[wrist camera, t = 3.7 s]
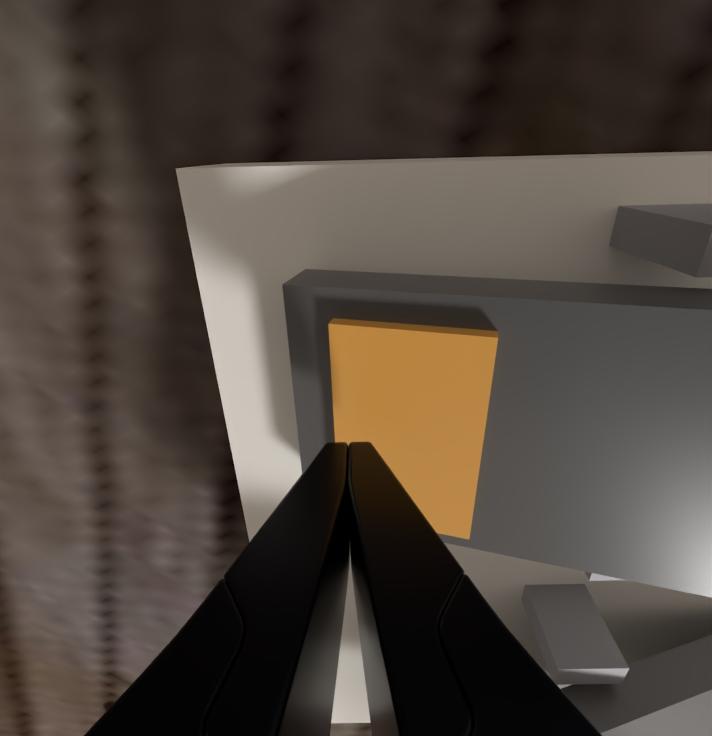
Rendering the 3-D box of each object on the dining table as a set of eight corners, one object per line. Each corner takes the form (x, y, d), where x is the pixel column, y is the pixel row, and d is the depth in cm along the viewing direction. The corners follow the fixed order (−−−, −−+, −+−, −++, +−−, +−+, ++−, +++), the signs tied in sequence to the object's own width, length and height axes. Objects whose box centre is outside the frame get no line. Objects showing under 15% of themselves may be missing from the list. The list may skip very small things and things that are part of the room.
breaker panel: (944, 145, 12) (1532, 139, 6) (682, 625, 22) (802, 799, 16) (228, 163, 12) (106, 174, 6) (296, 631, 22) (275, 806, 16)
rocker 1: (1554, 330, 5) (1912, 392, 4) (1137, 631, 8) (1265, 727, 6) (305, 268, 9) (275, 288, 8) (322, 482, 12) (301, 523, 10)
